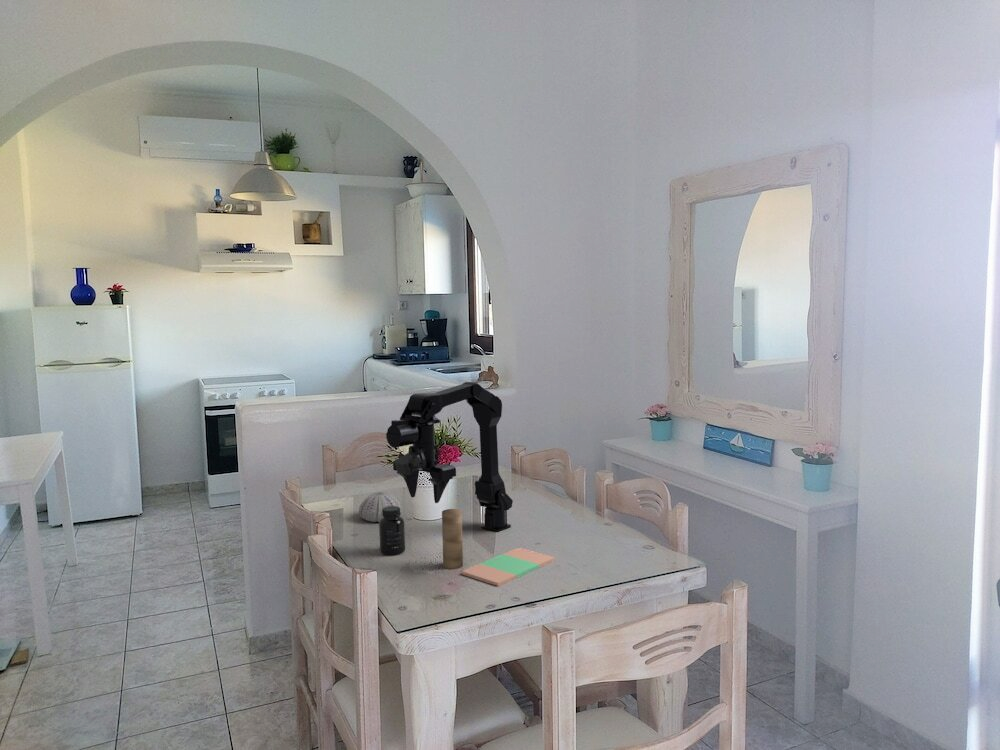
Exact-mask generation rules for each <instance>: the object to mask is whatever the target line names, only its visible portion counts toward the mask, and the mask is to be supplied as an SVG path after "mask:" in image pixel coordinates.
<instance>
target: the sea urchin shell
mask: <svg viewBox="0 0 1000 750" xmlns="http://www.w3.org/2000/svg"><path fill="white" fill-rule="evenodd" d="M401 505H402V504H401V503H400V502H399V500H397V497H395V496H394V495H392V494H390V493H388V492H386V491H378V492H373V493H371V494H369V495H368V496H367V497H366V498H365V499H363V501H362V502H361V503H360V505H359V508H358V514H359V516H360V517H361V519H363V520H366V521H368V522H371V523H376V522H378V523H379V521H380V519H381V518H383V516H382V509H383V508H384V507H388V506H397V507H400V512H401V513H402V506H401Z"/></svg>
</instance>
